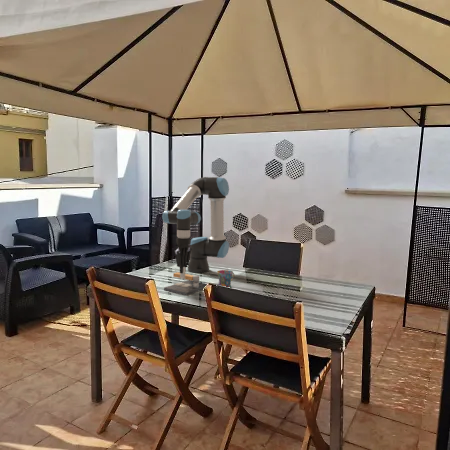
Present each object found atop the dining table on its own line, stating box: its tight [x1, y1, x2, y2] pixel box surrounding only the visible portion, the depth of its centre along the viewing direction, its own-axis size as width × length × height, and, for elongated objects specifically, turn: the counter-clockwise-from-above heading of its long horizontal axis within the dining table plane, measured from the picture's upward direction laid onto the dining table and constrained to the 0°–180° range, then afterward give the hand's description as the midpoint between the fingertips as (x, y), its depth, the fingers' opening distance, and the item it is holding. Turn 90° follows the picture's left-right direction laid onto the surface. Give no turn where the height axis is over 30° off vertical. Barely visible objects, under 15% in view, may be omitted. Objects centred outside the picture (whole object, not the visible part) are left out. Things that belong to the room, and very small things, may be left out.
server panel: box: [163, 280, 208, 296], centre depth 221 cm, size 22×16×5 cm
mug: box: [216, 269, 235, 289], centre depth 221 cm, size 12×9×11 cm
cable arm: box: [172, 271, 200, 282], centre depth 221 cm, size 4×17×3 cm, turn 56°
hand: (182, 278), depth 218 cm, fingers closed
